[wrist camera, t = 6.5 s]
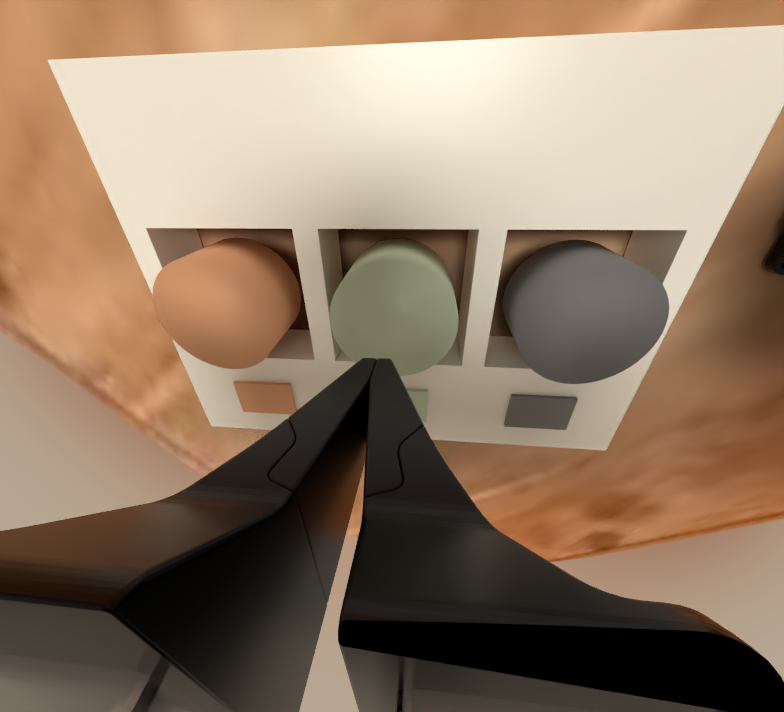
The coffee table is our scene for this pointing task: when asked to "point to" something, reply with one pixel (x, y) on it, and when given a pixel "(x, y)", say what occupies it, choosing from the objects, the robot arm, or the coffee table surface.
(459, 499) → the robot arm
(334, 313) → the sage button
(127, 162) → the panel
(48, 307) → the coffee table surface
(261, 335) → the rust button
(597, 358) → the charcoal button
